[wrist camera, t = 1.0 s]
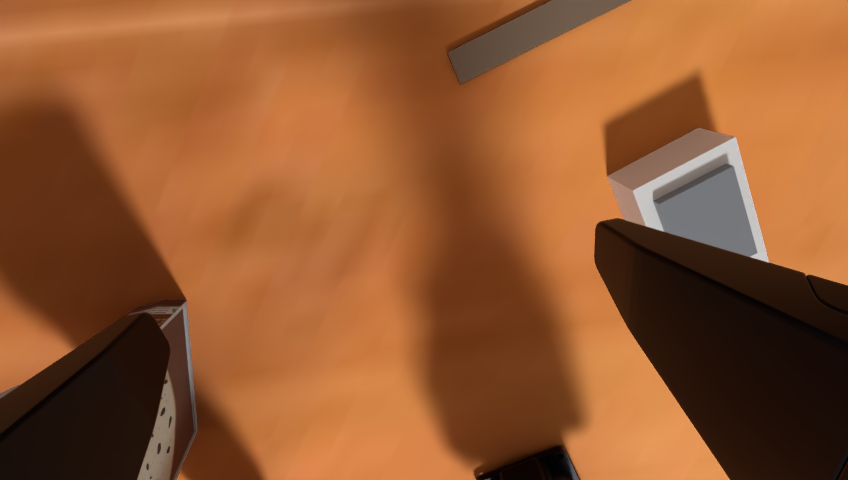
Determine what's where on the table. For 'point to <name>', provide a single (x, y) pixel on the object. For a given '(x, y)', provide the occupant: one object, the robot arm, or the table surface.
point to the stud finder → (693, 193)
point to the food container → (170, 396)
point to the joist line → (524, 34)
